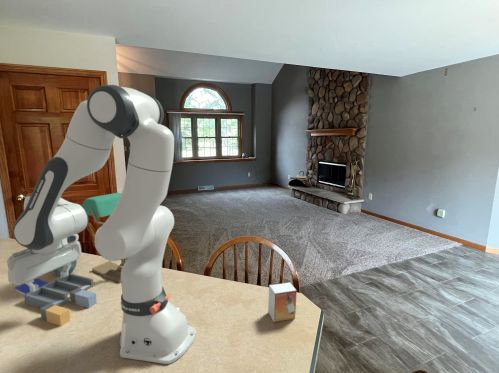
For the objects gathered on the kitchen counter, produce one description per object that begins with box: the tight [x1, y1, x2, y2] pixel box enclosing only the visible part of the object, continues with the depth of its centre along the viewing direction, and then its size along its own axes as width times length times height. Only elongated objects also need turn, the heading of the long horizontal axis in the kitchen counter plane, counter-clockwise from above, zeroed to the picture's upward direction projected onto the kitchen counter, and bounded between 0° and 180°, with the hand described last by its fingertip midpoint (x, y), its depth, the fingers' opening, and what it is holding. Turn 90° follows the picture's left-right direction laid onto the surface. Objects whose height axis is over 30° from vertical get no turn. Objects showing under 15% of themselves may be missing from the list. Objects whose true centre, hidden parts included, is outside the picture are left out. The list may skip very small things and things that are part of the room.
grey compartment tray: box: [23, 272, 94, 308], centre depth 102 cm, size 13×17×3 cm
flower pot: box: [52, 259, 78, 277], centre depth 118 cm, size 9×9×9 cm
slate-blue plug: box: [70, 288, 98, 309], centre depth 97 cm, size 9×3×4 cm, turn 70°
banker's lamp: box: [81, 192, 127, 284], centre depth 117 cm, size 16×21×35 cm
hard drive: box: [13, 278, 49, 295], centre depth 106 cm, size 2×8×12 cm
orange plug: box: [39, 303, 71, 327], centre depth 88 cm, size 9×3×4 cm, turn 70°
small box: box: [267, 282, 298, 323], centre depth 91 cm, size 8×6×10 cm
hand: (50, 283), depth 86 cm, fingers open, 8 cm apart
